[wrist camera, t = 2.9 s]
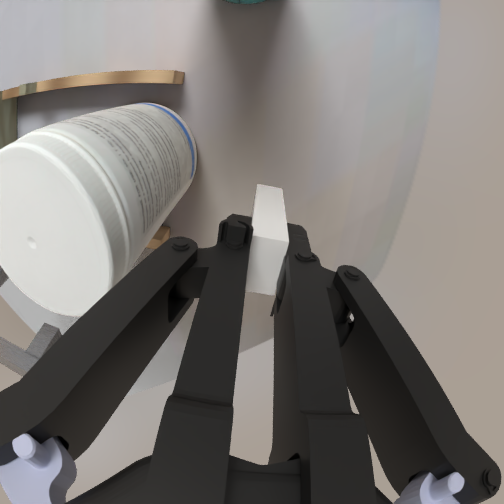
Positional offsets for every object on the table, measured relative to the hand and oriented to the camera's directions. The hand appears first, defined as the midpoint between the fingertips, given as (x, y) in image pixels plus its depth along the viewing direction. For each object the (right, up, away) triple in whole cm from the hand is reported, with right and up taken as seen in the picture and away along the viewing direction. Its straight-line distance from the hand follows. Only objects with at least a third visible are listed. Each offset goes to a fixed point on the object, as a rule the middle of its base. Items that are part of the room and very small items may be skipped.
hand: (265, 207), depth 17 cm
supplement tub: (-10, +6, +5) cm, 12 cm away
